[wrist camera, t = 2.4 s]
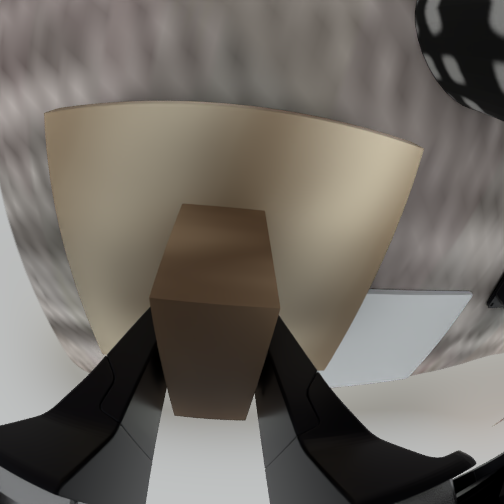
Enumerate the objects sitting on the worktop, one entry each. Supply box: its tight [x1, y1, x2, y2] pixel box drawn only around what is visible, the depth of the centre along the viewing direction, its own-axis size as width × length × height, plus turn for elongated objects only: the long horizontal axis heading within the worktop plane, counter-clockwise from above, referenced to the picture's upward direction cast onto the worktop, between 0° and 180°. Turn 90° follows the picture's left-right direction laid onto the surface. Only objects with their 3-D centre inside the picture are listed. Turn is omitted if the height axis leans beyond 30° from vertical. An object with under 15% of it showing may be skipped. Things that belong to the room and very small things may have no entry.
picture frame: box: [317, 289, 473, 388], centre depth 22 cm, size 15×13×1 cm
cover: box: [44, 101, 424, 420], centre depth 9 cm, size 12×12×5 cm
